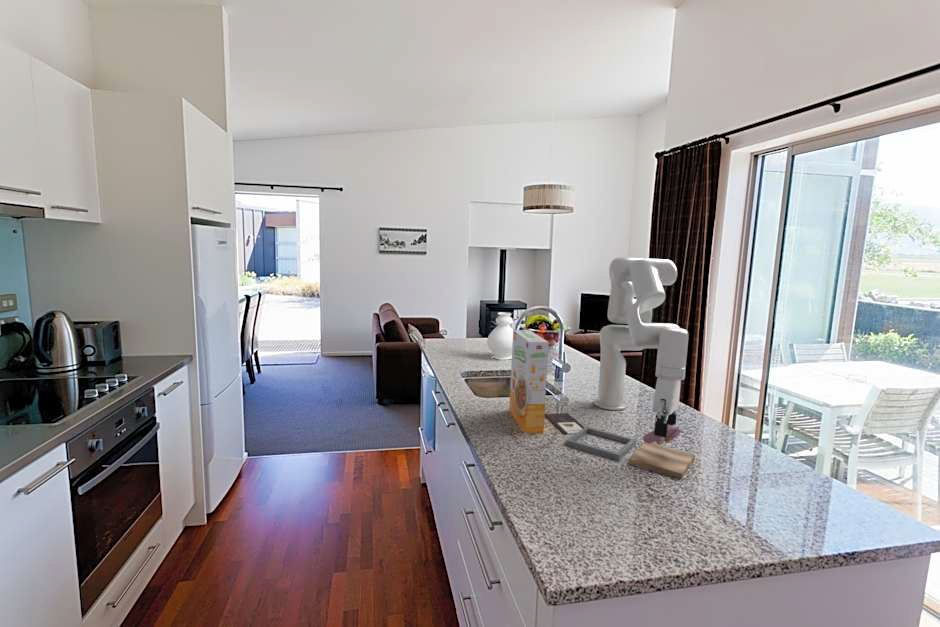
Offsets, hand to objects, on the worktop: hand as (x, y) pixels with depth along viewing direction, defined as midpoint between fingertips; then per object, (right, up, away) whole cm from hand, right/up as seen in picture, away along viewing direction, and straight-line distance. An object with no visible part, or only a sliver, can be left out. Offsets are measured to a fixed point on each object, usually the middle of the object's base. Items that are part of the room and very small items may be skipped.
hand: (664, 431), depth 134 cm
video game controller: (0, -4, +1) cm, 4 cm away
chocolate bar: (-22, -5, +29) cm, 37 cm away
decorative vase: (-37, +8, +128) cm, 134 cm away
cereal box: (-36, -4, +30) cm, 47 cm away
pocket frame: (-15, -7, +12) cm, 20 cm away
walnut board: (0, -9, +1) cm, 9 cm away
